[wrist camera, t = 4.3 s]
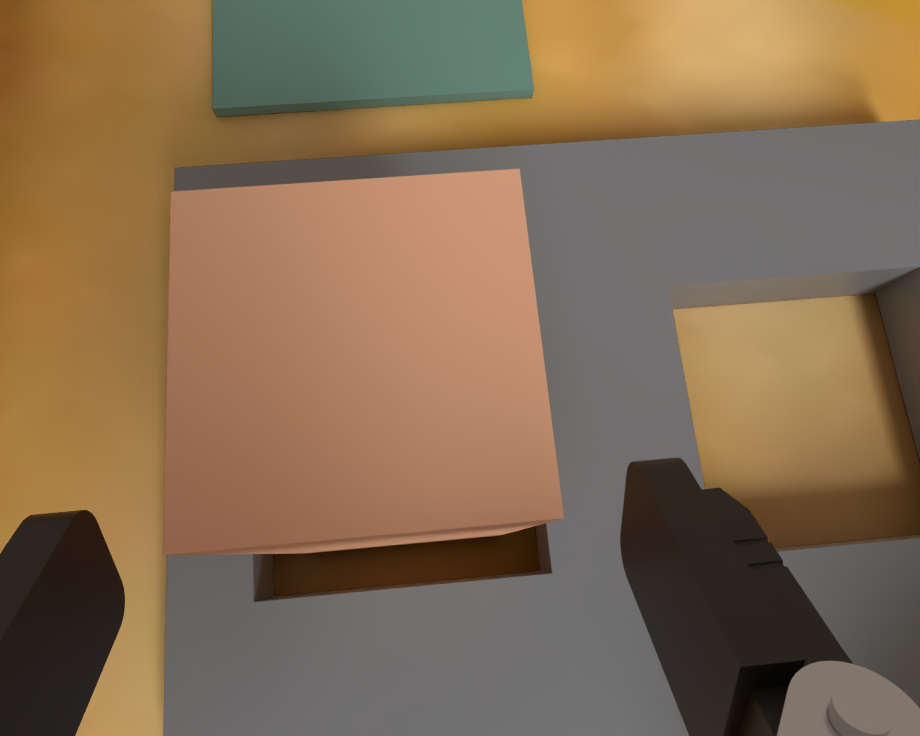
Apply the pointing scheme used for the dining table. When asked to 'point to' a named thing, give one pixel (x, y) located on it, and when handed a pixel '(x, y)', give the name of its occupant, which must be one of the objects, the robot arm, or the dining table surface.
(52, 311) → the dining table surface
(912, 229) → the puzzle board
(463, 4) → the mat
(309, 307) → the block
